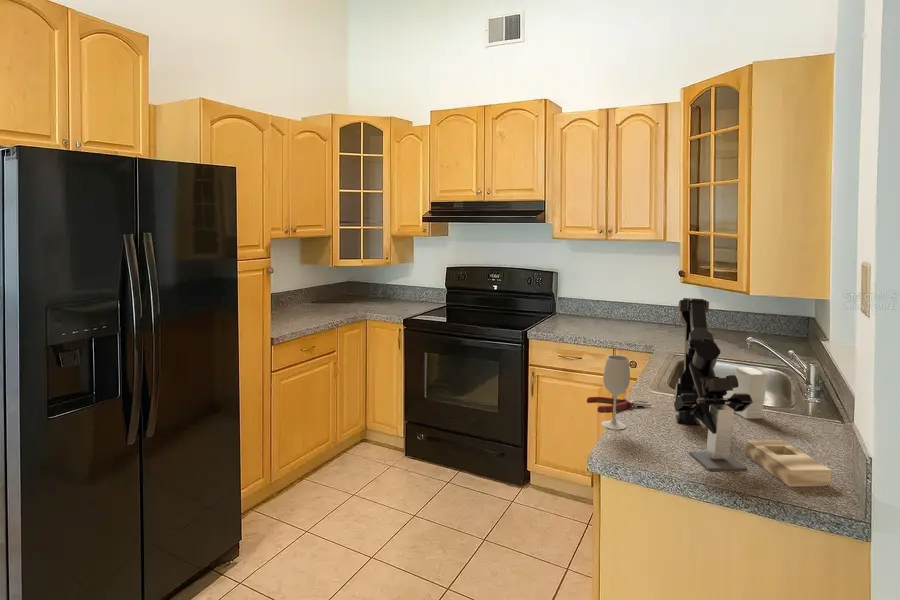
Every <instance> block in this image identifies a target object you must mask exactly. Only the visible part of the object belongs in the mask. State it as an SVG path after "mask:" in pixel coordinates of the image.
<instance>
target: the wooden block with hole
mask: <svg viewBox="0 0 900 600" xmlns="http://www.w3.org/2000/svg"><path fill="white" fill-rule="evenodd" d="M745 456H746V457H748V458H749V459H750V460H752V461H754V462H755V463H756V464H757V465H759V466H761V467H762V468H763V469H764V470H766V471H767V472H768V473H770V474H771V475H773V476H774V477H775V478H777V479H778V480H780V481H781V482H783V483H784V484H785V485H786V486H788V487H830V486H831V480H832V472H833V470H832V469H831V468H829V467H828V466H826V465H825V464H823V463H821V462H819V461H818V460H817V459H815V458H813V457H812V456H809V455H808V454H806V453H805V452H803V451H802V450H800V449H799V448H796V447H795V446H794V445H791V444H790V443H788V442H787V441H785V440H784V439H782V440H781V439H780V440H778V439H777V440H774V439H773V440H758V439H757V440H746V449H745ZM827 485H828V486H827ZM829 485H830V486H829Z"/></svg>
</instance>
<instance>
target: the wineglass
mask: <svg viewBox="0 0 900 600" xmlns="http://www.w3.org/2000/svg"><path fill="white" fill-rule="evenodd" d="M602 377H603V378H602V381H603V382H602V383H603V385H604V388H605V389H606V390H607V391H608V392H609V393H610V394H611V395H612V398H614V404H612V405H613V412H612V419H610V420H604V421H602V422H601V423H600V426H602V427H603V428H605V429H607V430H613V431H621V430H620V429H623V430H625V429H626V428H627V426H626V424H625V423H623V422H620V421H618V420H617V419H616V400H617V399H618V398H619V397H618V396H620V395H621V394H623V393H624V392H626V390H627V389H628V387H629V386H630V381H631V370H630V362H629V357H627V356H623V355H619V354H618V355H617V354H615V355H613V354H612V355H607V357H606V361H605V365H604V370H603V375H602ZM609 424H610V425H609ZM608 425H609V426H608ZM607 426H608V428H609V429H608V428H607ZM624 428H625V429H624Z"/></svg>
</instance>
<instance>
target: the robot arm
mask: <svg viewBox="0 0 900 600" xmlns="http://www.w3.org/2000/svg"><path fill="white" fill-rule="evenodd" d="M677 309H678V310H677V311H678V313H679V314H680V315H679V316H680V317H679V319H680V320H681V322H682V323H683V325H684V327H685V328H684V355H683V356H684V361H683V362H684V363H683V364H684V366H683V371H682V374H681V375H680V377H679V378H678V382H676V385H675V389H674V391H673V393H674V396H673V398H674V402H673V406H674V410H675V412H678V414H675V418H676V422H677V423H678V424H685V425H686V424H687V425H695V426H701V423H702V424H703V425H705V427H706V428H707V430H708V429H709V430H710V431H711V432H712V433H713V434H715V433H716V430H715V426H714V423H713V420H712V417H711V414H710V405H727V406H729V407H730V408H732V409H734V413H735V412H741V411H744V410H745V409H746V408H747V407H748V406H749V405H751V404H752V403H753V401H752V398H751V396H750V395H749V394H747V393H734V394H733V395H731V396H730V397H725V396H727V395H728V392H729V391H731V392H733V388H737V387H738V386H739V384H738V380H737V377H736V375H735V374H729V375H726V377H719V376H717V375H716V373H715V369H714V368H715V367H716V364H717V361H718V358H719V355H721V349H720V348H719V346H718V344H717V342H715V339H714V335H713V334H712V333H711V332H710V331H709V330H708V324H707V323H708V322H707V321H708V320H707V314H709V313H710V312H709V310H710V301H708V300H706V299H705V298H696V297H695V298H694V297H693V298H692V297H691V298H690V297H683V298H682V299H680V300H679V301H678V308H677ZM724 397H725V398H724ZM733 426H734V425H733ZM733 426H732V431H733V428H734V427H733Z"/></svg>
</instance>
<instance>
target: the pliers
mask: <svg viewBox="0 0 900 600" xmlns="http://www.w3.org/2000/svg"><path fill="white" fill-rule="evenodd" d="M648 402H649V401H643V400H628V399H626V398H624V397H623V399H622V398H617V400H616V412H619V411H623V410H627V409H629V408H632V409H633V407H632V406H645V407H652V404H650V403H648ZM586 403H587V404H596V403H597V404H598V403H599V404H606V405H598V406H597V413H600V414H602V413H603V414H604V413H605V414H606V413H607V414H609V413H612V414H613V405H614V397H605V396H588V397H587V398H586ZM607 404H608V405H607ZM626 408H627V409H626ZM618 410H619V411H618Z"/></svg>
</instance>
